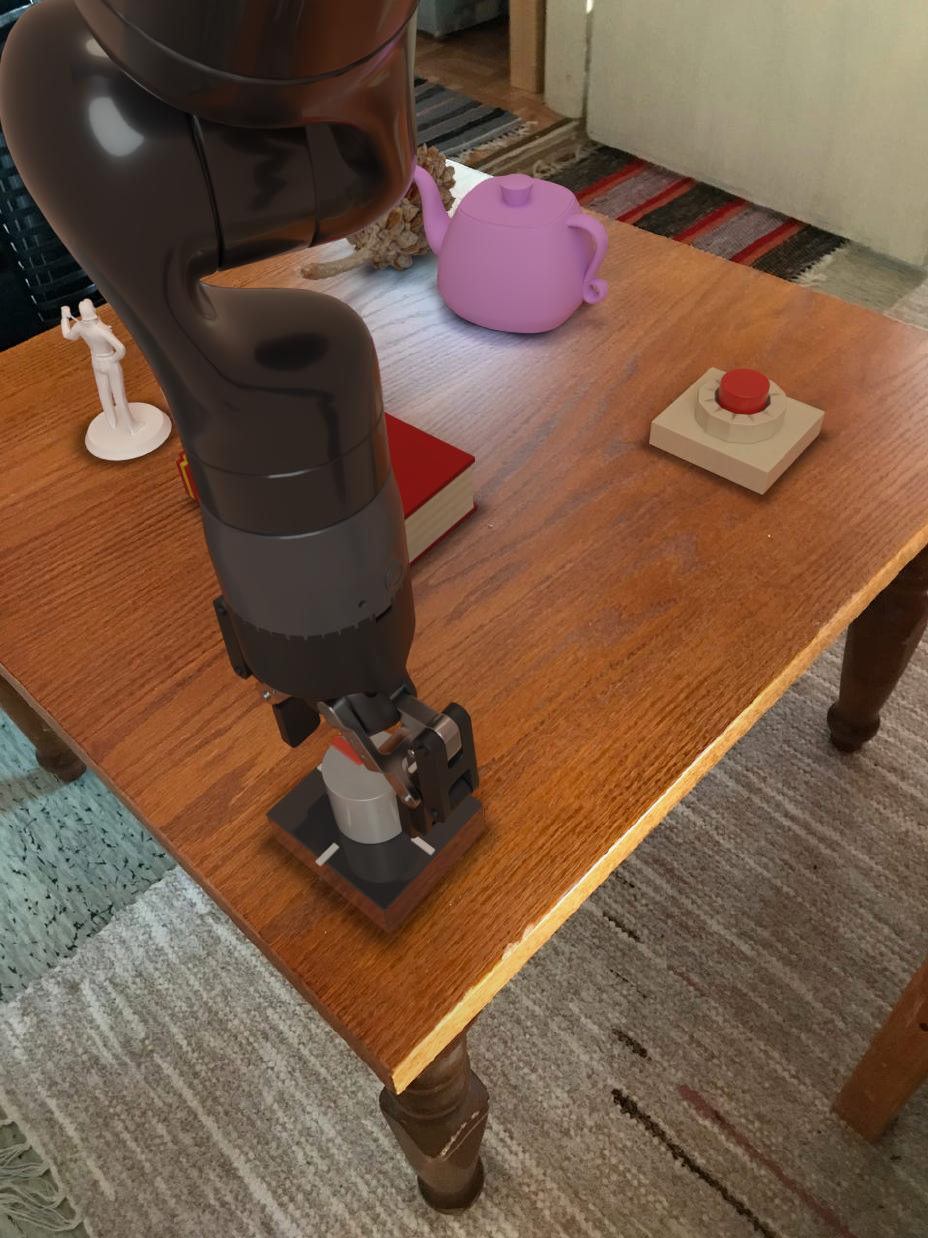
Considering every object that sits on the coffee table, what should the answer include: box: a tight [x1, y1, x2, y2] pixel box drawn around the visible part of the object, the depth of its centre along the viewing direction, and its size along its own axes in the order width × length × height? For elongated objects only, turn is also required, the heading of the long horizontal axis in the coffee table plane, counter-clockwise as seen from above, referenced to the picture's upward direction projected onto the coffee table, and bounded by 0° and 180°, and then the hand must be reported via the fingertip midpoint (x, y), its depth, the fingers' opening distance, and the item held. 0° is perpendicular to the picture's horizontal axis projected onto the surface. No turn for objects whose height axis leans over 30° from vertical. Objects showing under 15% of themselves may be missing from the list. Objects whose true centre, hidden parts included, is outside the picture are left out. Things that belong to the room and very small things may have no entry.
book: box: [175, 411, 478, 568], centre depth 73 cm, size 18×13×5 cm
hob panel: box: [265, 755, 486, 935], centre depth 55 cm, size 9×9×3 cm
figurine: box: [60, 298, 172, 461], centre depth 77 cm, size 7×7×12 cm
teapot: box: [413, 165, 610, 334], centre depth 88 cm, size 20×13×12 cm, turn 63°
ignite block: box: [648, 366, 826, 496], centre depth 76 cm, size 10×9×4 cm
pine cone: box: [292, 141, 457, 281], centre depth 93 cm, size 22×10×10 cm, turn 152°
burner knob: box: [321, 730, 410, 844], centre depth 52 cm, size 4×4×5 cm
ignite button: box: [718, 368, 770, 415], centre depth 74 cm, size 4×4×2 cm
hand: (360, 777), depth 51 cm, fingers open, 8 cm apart
